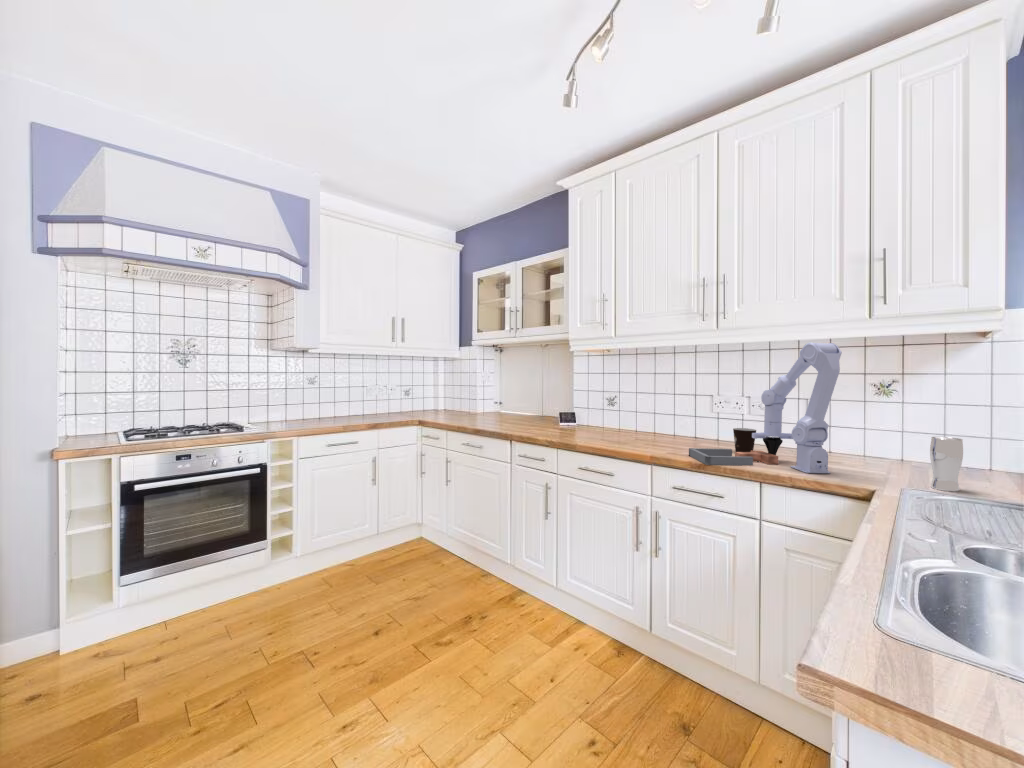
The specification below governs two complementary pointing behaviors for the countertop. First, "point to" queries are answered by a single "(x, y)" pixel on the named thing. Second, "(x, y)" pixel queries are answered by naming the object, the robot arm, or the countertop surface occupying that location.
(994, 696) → the countertop surface
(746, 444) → the coffee mug
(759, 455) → the t block
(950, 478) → the beer glass
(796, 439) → the robot arm
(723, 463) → the dock
